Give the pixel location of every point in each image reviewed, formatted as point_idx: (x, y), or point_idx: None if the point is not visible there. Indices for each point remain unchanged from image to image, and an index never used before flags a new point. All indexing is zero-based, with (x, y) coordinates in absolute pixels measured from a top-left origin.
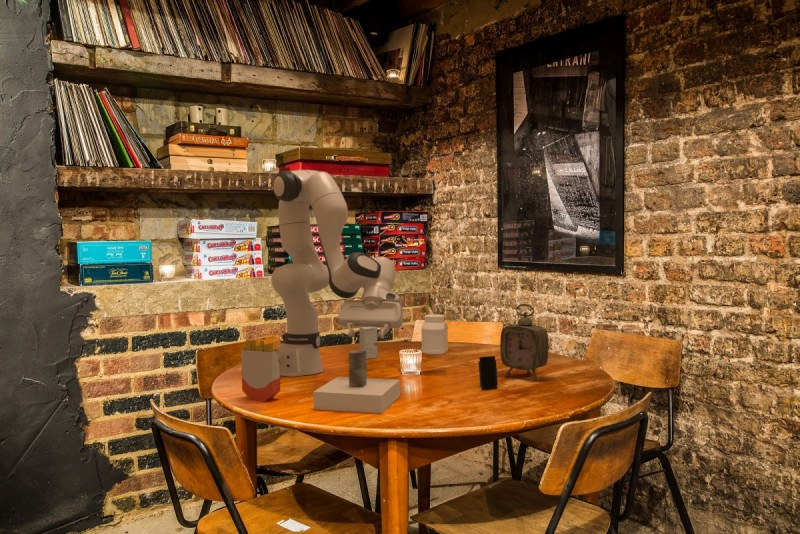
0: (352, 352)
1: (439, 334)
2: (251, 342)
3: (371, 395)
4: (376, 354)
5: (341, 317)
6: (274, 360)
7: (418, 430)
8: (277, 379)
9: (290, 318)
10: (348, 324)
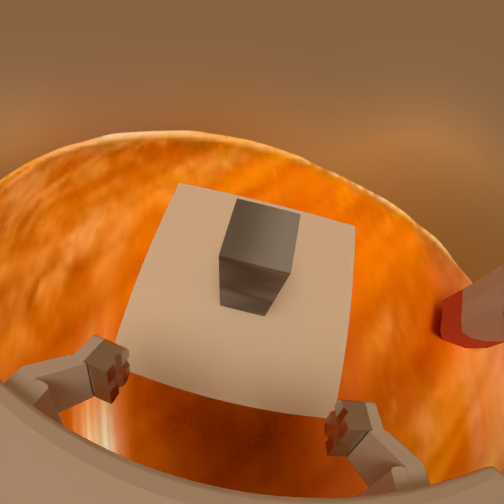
0: (283, 214)
1: None
2: None
3: (203, 188)
4: None
5: (494, 479)
6: (495, 281)
7: (138, 132)
8: (460, 310)
9: None
10: (414, 463)
